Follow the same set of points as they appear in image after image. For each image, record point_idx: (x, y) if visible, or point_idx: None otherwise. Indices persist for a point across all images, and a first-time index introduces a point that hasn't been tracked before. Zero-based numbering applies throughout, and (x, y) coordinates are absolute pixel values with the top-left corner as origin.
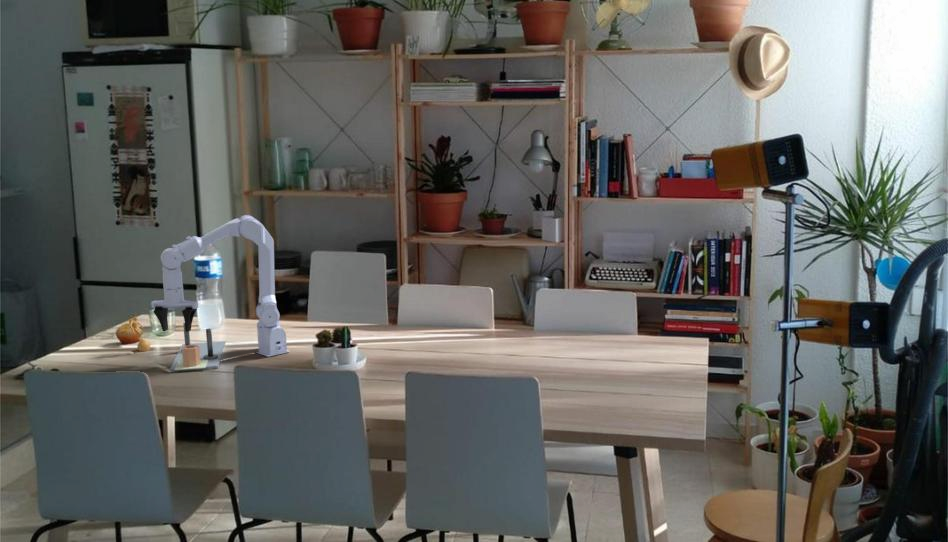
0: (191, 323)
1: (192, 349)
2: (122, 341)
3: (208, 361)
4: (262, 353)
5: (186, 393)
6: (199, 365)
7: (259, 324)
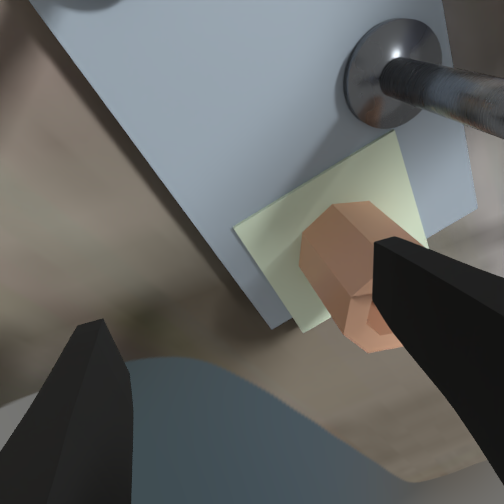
0: (463, 271)
1: None
2: None
3: (404, 155)
4: None
5: (442, 426)
6: None
7: None
